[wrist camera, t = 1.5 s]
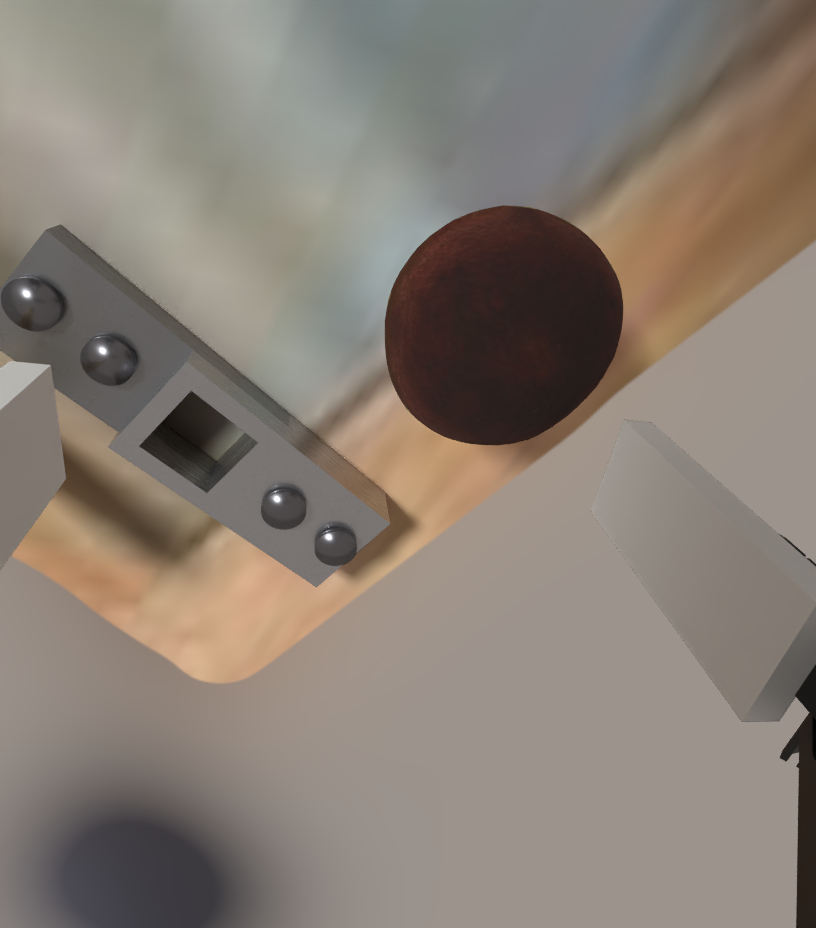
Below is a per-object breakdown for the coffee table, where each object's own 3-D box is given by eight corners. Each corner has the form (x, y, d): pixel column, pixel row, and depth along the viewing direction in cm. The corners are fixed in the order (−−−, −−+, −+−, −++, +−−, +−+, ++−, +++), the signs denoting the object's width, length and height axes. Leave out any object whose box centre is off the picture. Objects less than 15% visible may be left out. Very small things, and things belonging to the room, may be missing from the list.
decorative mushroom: (379, 169, 32) (420, 196, 20) (563, 201, 35) (711, 245, 22) (355, 358, 38) (376, 479, 25) (517, 376, 40) (614, 496, 27)
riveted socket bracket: (-13, 318, 34) (-58, 344, 30) (60, 224, 32) (23, 238, 28) (316, 551, 45) (316, 593, 41) (384, 492, 43) (391, 529, 39)
